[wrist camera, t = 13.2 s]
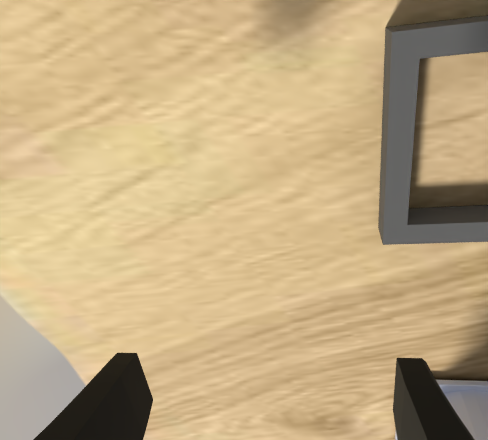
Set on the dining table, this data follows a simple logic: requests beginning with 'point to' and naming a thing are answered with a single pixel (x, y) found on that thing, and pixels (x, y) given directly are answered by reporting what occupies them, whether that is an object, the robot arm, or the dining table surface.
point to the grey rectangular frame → (402, 133)
